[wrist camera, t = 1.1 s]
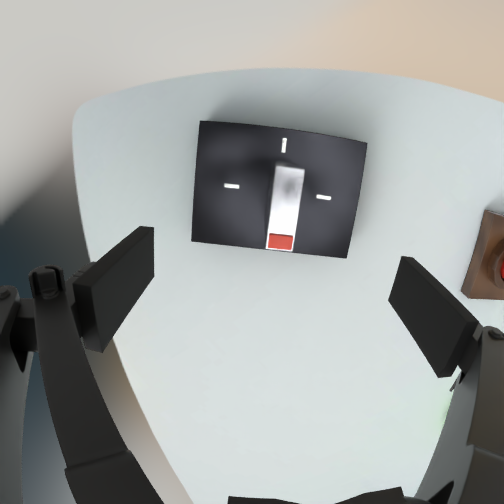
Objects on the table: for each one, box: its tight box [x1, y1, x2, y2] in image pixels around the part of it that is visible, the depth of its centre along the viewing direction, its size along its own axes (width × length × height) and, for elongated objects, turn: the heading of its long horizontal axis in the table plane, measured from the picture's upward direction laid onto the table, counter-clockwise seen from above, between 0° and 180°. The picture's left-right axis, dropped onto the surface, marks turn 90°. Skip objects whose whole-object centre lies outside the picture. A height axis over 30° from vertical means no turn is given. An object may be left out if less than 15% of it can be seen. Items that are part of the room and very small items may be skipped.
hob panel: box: [191, 121, 367, 258], centre depth 30 cm, size 12×16×3 cm
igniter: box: [461, 210, 504, 300], centre depth 31 cm, size 12×10×4 cm
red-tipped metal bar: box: [264, 159, 305, 252], centre depth 25 cm, size 6×2×8 cm, turn 174°
